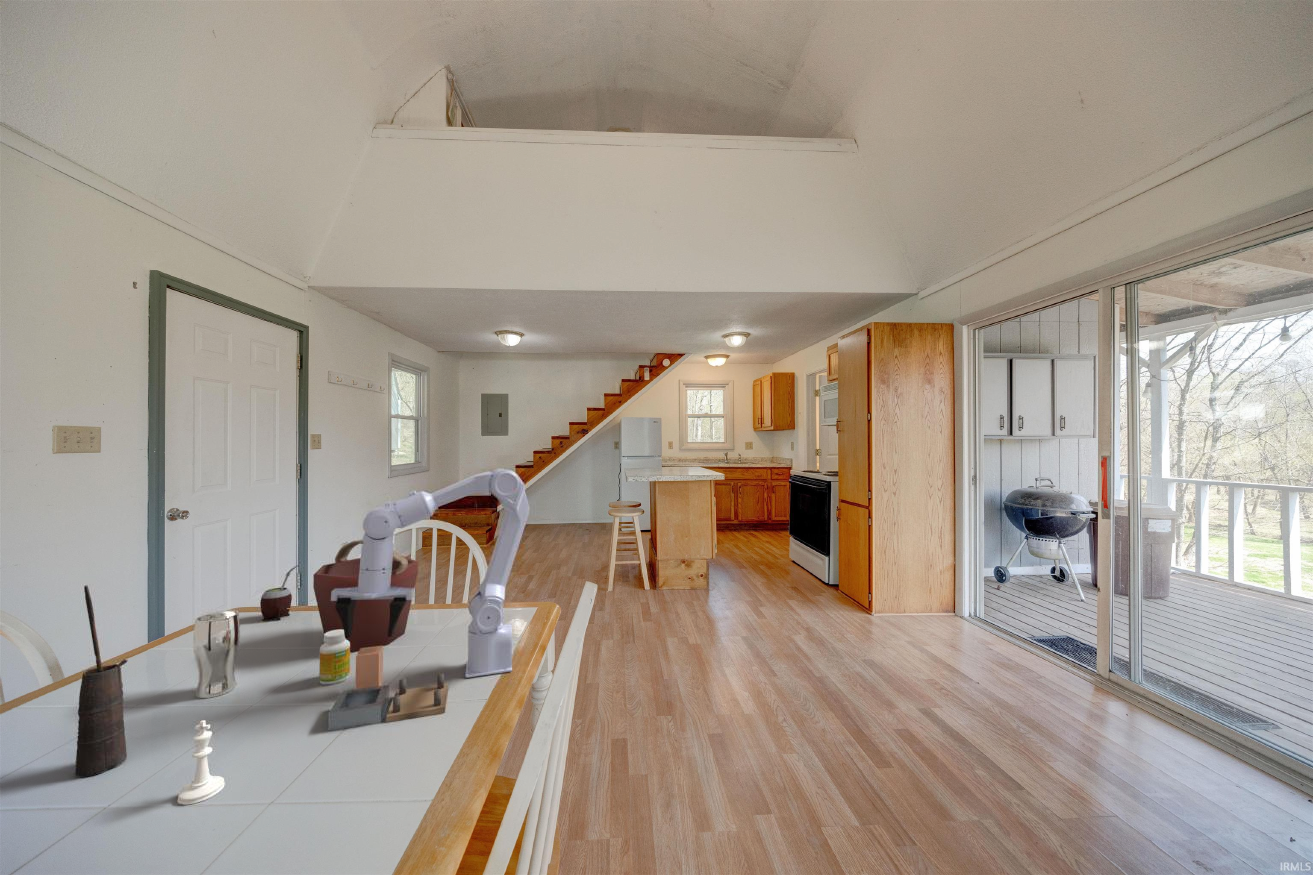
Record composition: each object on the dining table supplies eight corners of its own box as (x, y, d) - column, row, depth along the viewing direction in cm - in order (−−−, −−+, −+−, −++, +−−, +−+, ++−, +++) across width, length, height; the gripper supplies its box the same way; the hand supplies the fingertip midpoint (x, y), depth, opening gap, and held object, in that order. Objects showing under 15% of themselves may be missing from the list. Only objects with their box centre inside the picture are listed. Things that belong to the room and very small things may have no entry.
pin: (382, 684, 101) (382, 645, 101) (378, 693, 97) (378, 653, 97) (360, 687, 100) (360, 648, 100) (355, 697, 96) (355, 656, 96)
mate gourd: (257, 618, 140) (258, 565, 140) (291, 611, 146) (291, 560, 146) (264, 624, 135) (264, 569, 135) (298, 616, 141) (299, 564, 141)
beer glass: (246, 686, 100) (247, 612, 100) (203, 702, 94) (204, 623, 94) (227, 679, 103) (229, 607, 103) (185, 694, 97) (186, 618, 97)
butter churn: (149, 736, 83) (152, 570, 83) (156, 759, 77) (159, 580, 77) (64, 763, 76) (68, 581, 76) (65, 791, 70) (69, 593, 70)
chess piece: (197, 781, 72) (198, 712, 72) (233, 779, 72) (234, 710, 73) (167, 805, 67) (168, 731, 67) (205, 803, 67) (207, 730, 68)
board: (448, 688, 99) (448, 670, 100) (444, 712, 90) (445, 693, 90) (395, 696, 96) (395, 678, 96) (386, 722, 87) (386, 702, 87)
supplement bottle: (334, 686, 100) (335, 638, 100) (312, 683, 101) (313, 636, 102) (355, 674, 106) (356, 628, 106) (334, 671, 107) (335, 627, 107)
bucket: (429, 639, 125) (430, 540, 125) (328, 668, 108) (330, 555, 109) (392, 616, 141) (392, 529, 141) (299, 639, 124) (300, 540, 125)
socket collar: (389, 700, 95) (389, 684, 95) (380, 722, 87) (381, 705, 87) (341, 707, 92) (341, 691, 92) (328, 730, 85) (328, 713, 85)
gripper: (327, 572, 94) (320, 644, 93) (411, 572, 98) (404, 641, 97) (340, 563, 100) (334, 631, 100) (418, 564, 104) (412, 629, 104)
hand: (369, 635), depth 99 cm, fingers open, 7 cm apart
